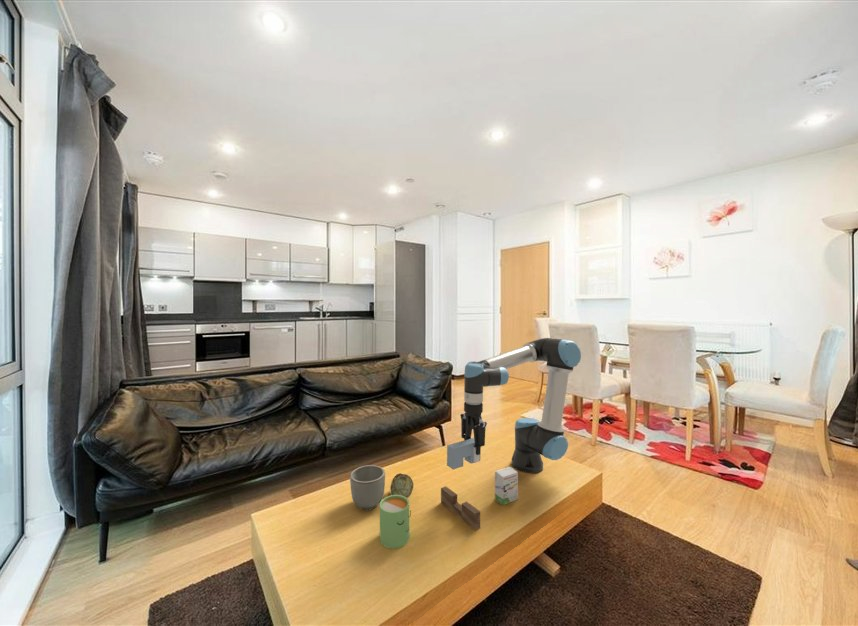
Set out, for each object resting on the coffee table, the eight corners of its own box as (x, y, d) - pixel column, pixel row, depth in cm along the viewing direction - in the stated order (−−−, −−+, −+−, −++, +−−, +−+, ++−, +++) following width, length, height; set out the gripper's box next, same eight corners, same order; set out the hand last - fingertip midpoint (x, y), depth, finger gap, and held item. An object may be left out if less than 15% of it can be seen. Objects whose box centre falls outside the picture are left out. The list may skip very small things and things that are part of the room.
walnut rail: (445, 500, 133) (445, 486, 133) (480, 527, 117) (480, 511, 117) (441, 502, 132) (441, 488, 132) (475, 530, 116) (475, 513, 116)
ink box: (502, 505, 130) (502, 476, 129) (494, 499, 134) (494, 471, 134) (518, 499, 134) (518, 471, 134) (510, 493, 138) (510, 466, 138)
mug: (398, 553, 105) (398, 516, 105) (374, 541, 111) (373, 506, 111) (419, 530, 116) (419, 497, 116) (396, 520, 122) (396, 488, 121)
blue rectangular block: (473, 456, 135) (474, 437, 135) (480, 460, 132) (480, 440, 132) (446, 465, 127) (447, 445, 127) (453, 469, 124) (453, 448, 124)
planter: (391, 499, 134) (391, 468, 134) (372, 520, 122) (372, 486, 121) (364, 491, 140) (363, 462, 140) (343, 510, 127) (342, 477, 127)
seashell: (418, 491, 140) (418, 468, 140) (408, 507, 129) (408, 482, 129) (396, 487, 144) (396, 464, 143) (384, 502, 133) (384, 477, 133)
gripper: (453, 398, 137) (452, 453, 137) (481, 409, 122) (480, 470, 123) (466, 396, 141) (465, 449, 141) (495, 406, 127) (494, 465, 127)
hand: (472, 459), depth 132 cm, fingers closed on blue rectangular block, 4 cm apart
